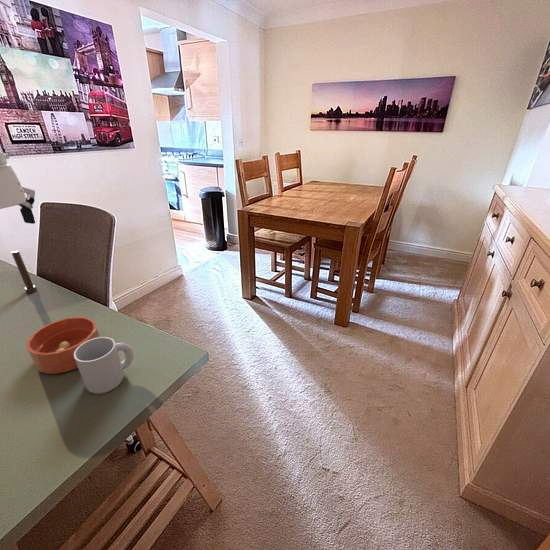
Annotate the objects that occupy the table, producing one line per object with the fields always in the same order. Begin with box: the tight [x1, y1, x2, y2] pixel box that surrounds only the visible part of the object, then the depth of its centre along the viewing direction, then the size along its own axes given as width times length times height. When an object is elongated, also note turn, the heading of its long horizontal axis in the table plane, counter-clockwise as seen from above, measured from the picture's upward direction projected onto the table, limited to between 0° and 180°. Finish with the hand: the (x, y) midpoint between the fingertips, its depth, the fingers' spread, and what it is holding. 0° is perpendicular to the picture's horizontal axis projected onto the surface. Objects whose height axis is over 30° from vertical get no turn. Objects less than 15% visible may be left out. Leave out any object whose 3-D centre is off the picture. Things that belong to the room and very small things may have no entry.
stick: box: [11, 250, 38, 294], centre depth 92 cm, size 3×3×14 cm
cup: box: [74, 336, 134, 395], centre depth 62 cm, size 7×10×9 cm
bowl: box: [25, 316, 101, 375], centre depth 69 cm, size 13×13×6 cm
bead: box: [59, 341, 70, 349], centre depth 70 cm, size 2×2×2 cm
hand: (12, 228), depth 80 cm, fingers open, 9 cm apart
